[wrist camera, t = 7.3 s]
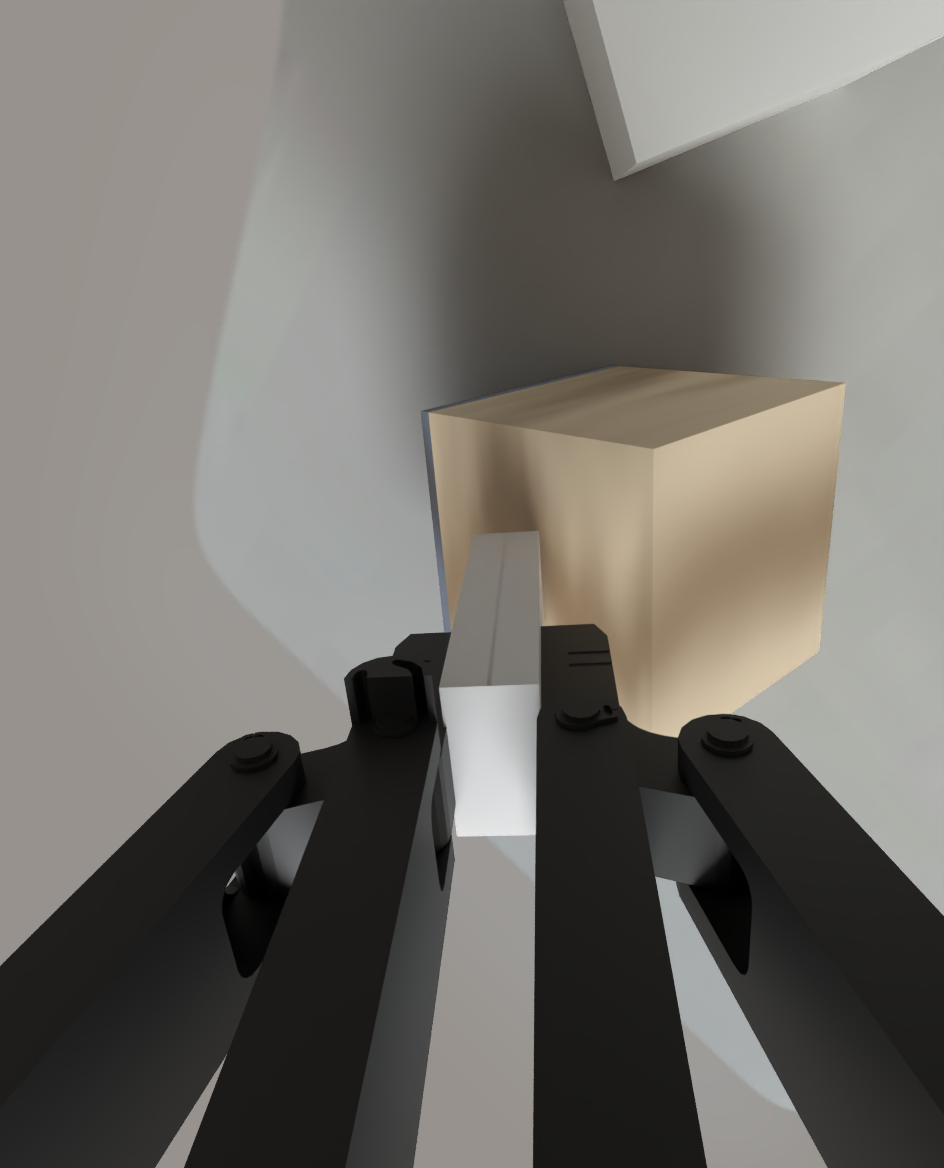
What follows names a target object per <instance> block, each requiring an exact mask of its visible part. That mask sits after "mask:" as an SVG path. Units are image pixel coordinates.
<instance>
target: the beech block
mask: <svg viewBox="0 0 944 1168" xmlns="http://www.w3.org/2000/svg"><path fill="white" fill-rule="evenodd" d="M845 387H846V383H841V382H828V381H814V380H801V379H787V378H774V377H760V376H746V375H733V374H719V373H706V372H692V371H679V370H665V369H652V368H638V367H625V366H607V367H603V368H599V369H595V370H591V371H586V372H582V373H578V374H574V375H570V376H566V377H561V378H557V379H553V380H549V381H545V382H541V383H536V384H532V385H528V386H524V387H520V388H515V389H511V390H507V391H503V392H499V393H495V394H490V395H486V396H482V397H478V398H474V399H470V400H465V401H461V402H457V403H453V404H449V405H445V406H440V407H436V408H432V409H428V410H424V411H421V417H422V426H423V436H424V445H425V454H426V464H427V473H428V483H429V492H430V501H431V511H432V520H433V529H434V539H435V548H436V557H437V567H438V576H439V585H440V595H441V604H442V613H443V623H444V632H451V631H452V627H453V622H454V618H455V613H456V609H457V604H458V600H459V595H460V591H461V586H462V582H463V577H464V573H465V568H466V564H467V559H468V555H469V550H470V546H471V541H472V537H473V535H474V534H492V533H509V532H526V531H539V543H540V559H541V576H542V592H543V609H544V625H545V626H556V625H577V624H595V625H596V626H597V627H598V628H599V629H600V630H602V631H603V632H604V633H605V634H606V635H607V636H608V642H609V647H610V653H611V659H612V665H613V671H614V677H615V682H616V688H617V694H618V700H619V705H620V706H621V707H622V709H623V711H624V712H625V714H626V716H627V720H628V721H629V722H631V723H632V724H634V725H635V726H637V727H638V728H641V729H643V730H646V731H648V732H651V733H656V734H660V735H664V736H670V737H677V738H678V736H679V733H680V730H681V728H682V727H683V726H684V725H685V724H687V723H688V722H689V721H691V720H692V719H695V718H699V717H702V716H705V715H714V714H731V713H732V712H734V711H735V710H737V709H738V708H740V707H741V706H742V705H744V704H745V703H747V702H748V701H750V700H751V699H752V698H754V697H755V696H757V695H758V694H759V693H761V692H762V691H764V690H765V689H767V688H768V687H769V686H771V685H772V684H774V683H775V682H777V681H778V680H779V679H781V678H782V677H784V676H785V675H787V674H788V673H789V672H791V671H792V670H794V669H795V668H797V667H798V666H799V665H801V664H802V663H804V662H805V661H806V660H808V659H809V658H811V657H812V656H814V655H815V654H816V653H818V652H819V647H820V637H821V627H822V617H823V607H824V597H825V587H826V577H827V567H828V557H829V547H830V537H831V527H832V517H833V507H834V497H835V487H836V477H837V467H838V457H839V447H840V437H841V427H842V417H843V407H844V397H845Z"/></svg>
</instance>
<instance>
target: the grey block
mask: <svg viewBox="0 0 944 1168" xmlns="http://www.w3.org/2000/svg"><path fill="white" fill-rule="evenodd" d="M563 2H564V6H565V9H566V13H567V16H568V20H569V23H570V27H571V31H572V34H573V38H574V41H575V45H576V48H577V52H578V55H579V59H580V62H581V66H582V70H583V73H584V77H585V80H586V84H587V87H588V91H589V94H590V98H591V101H592V105H593V109H594V112H595V116H596V119H597V123H598V126H599V130H600V133H601V137H602V140H603V144H604V148H605V151H606V155H607V158H608V162H609V165H610V169H611V172H612V176H613V179H614V181H616V180H619V179H621V178H624V177H626V176H628V175H631V174H633V173H636V172H638V171H640V170H643V169H645V168H648V167H650V166H653V165H655V164H657V163H660V162H662V161H665V160H667V159H669V158H672V157H674V156H677V155H679V154H681V153H684V152H686V151H689V150H691V149H693V148H696V147H698V146H701V145H703V144H706V143H708V142H710V141H713V140H715V139H718V138H720V137H722V136H725V135H727V134H730V133H732V132H734V131H737V130H739V129H742V128H744V127H747V126H749V125H751V124H754V123H756V122H759V121H761V120H763V119H766V118H768V117H771V116H773V115H775V114H778V113H780V112H783V111H785V110H787V109H790V108H792V107H795V106H797V105H800V104H802V103H804V102H807V101H809V100H812V99H814V98H816V97H819V96H821V95H824V94H826V93H828V92H831V91H833V90H836V89H838V88H840V87H843V86H845V85H847V84H849V83H851V82H853V81H855V80H857V79H859V78H861V77H863V76H865V75H867V74H869V73H871V72H873V71H875V70H877V69H879V68H881V67H883V66H885V65H887V64H889V63H891V62H893V61H895V60H897V59H899V58H901V57H903V56H905V55H907V54H909V53H911V52H913V51H915V50H917V49H919V48H921V47H923V46H925V45H927V44H929V43H931V42H933V41H935V40H937V39H939V38H941V37H943V36H944V0H563Z"/></svg>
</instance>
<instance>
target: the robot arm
mask: <svg viewBox="0 0 944 1168" xmlns="http://www.w3.org/2000/svg"><path fill="white" fill-rule="evenodd" d="M344 681H345V687H346V693H347V699H348V704H349V710H350V716H351V722H352V728H351V730H350V733H349V736H348V738H347V741H345V742H342V743H340V744H338V745H335V746H331V747H328V748H324V749H320V750H315V751H311V752H307V753H302V754H301V752H300V747H299V743H298V741H296V740H295V739H294V738H293V737H292V736H291V735H288V734H284V733H280V732H257V733H255V734H249V735H245V736H243V737H241V738H239V739H236V740H234V741H232V742H229V743H228V744H227V745H225V746H224V747H223V748H221V749H220V750H219V751H217V752H216V753H215V754H214V755H213V756H212V757H211V758H210V759H209V760H208V761H207V762H206V763H205V764H204V765H203V766H202V767H201V768H200V769H199V770H198V771H197V772H196V773H195V774H194V775H193V776H192V777H191V778H190V779H189V780H188V781H187V782H186V783H185V784H184V785H183V786H182V787H181V788H180V789H179V790H178V791H177V792H176V793H175V794H174V795H172V796H171V798H170V799H168V800H167V802H165V804H163V805H162V806H161V807H160V808H159V809H158V810H157V811H156V812H155V813H154V814H153V815H152V816H151V817H150V818H149V819H148V820H147V821H146V822H145V823H144V824H143V825H142V826H141V827H140V828H139V829H138V830H137V831H136V832H135V833H134V834H133V835H132V836H131V837H130V838H129V839H128V840H127V841H126V842H125V843H124V844H123V845H122V846H121V847H120V848H119V849H118V850H117V851H116V852H115V853H114V854H113V855H112V856H111V857H110V858H109V859H108V860H107V861H106V862H105V863H104V864H103V865H102V866H101V867H100V868H99V869H98V870H97V871H96V872H95V873H94V874H93V875H92V876H91V877H90V878H89V879H88V880H87V881H86V882H85V883H84V884H83V885H82V886H81V887H80V888H79V889H78V890H76V891H75V893H73V894H72V896H71V897H69V898H68V899H67V900H66V901H65V902H64V903H63V904H62V905H61V906H60V907H59V908H58V909H57V910H56V911H55V912H54V913H53V914H52V915H51V916H50V917H49V918H48V919H47V920H46V921H45V922H44V923H43V924H42V925H41V926H40V927H39V928H38V929H37V930H36V931H35V932H34V933H33V934H32V935H31V936H30V937H29V938H28V939H27V940H26V941H25V942H24V943H23V944H22V945H21V946H20V947H19V948H18V949H17V950H16V951H15V952H14V953H13V954H12V955H11V956H10V957H9V958H8V959H7V960H6V961H5V962H4V963H3V964H2V965H1V966H0V1168H155V1167H156V1165H157V1164H158V1162H159V1161H160V1159H161V1157H162V1156H163V1154H164V1153H165V1151H166V1149H167V1148H168V1146H169V1145H170V1143H171V1142H172V1140H173V1138H174V1137H175V1135H176V1134H177V1132H178V1131H179V1129H180V1127H181V1126H182V1124H183V1123H184V1121H185V1119H186V1118H187V1116H188V1115H189V1113H190V1112H191V1110H192V1109H193V1107H194V1105H195V1104H196V1102H197V1101H198V1099H199V1097H200V1096H201V1094H202V1093H203V1091H204V1090H205V1088H206V1086H207V1085H208V1083H209V1082H210V1080H211V1079H212V1077H213V1075H214V1073H215V1072H216V1071H217V1069H218V1068H219V1066H220V1064H221V1063H222V1061H223V1060H224V1058H225V1056H226V1055H227V1056H226V1059H225V1061H224V1064H223V1067H222V1069H221V1072H220V1075H219V1077H218V1080H217V1082H216V1085H215V1088H214V1090H213V1093H212V1096H211V1098H210V1101H209V1104H208V1106H207V1109H206V1112H205V1114H204V1117H203V1119H202V1122H201V1125H200V1127H199V1130H198V1132H197V1135H196V1138H195V1140H194V1143H193V1146H192V1148H191V1151H190V1154H189V1156H188V1159H187V1161H186V1164H185V1167H184V1168H413V1165H414V1157H415V1150H416V1143H417V1135H418V1128H419V1120H420V1113H421V1106H422V1105H421V1104H422V1098H423V1091H424V1083H425V1076H426V1069H427V1061H428V1054H429V1046H430V1038H431V1030H432V1024H433V1017H434V1009H435V1001H436V994H437V986H438V980H439V972H440V965H441V957H442V950H443V942H444V934H445V928H446V920H447V913H448V905H449V898H450V890H451V882H452V876H453V868H454V861H455V858H454V850H453V843H452V835H451V833H452V826H453V820H454V816H455V824H456V832H457V836H514V835H536V863H535V989H534V990H535V992H534V1112H533V1120H534V1121H533V1123H534V1124H533V1125H534V1126H533V1168H707V1165H706V1159H705V1154H704V1148H703V1142H702V1136H701V1131H700V1125H699V1120H698V1114H697V1108H696V1103H695V1097H694V1092H693V1086H692V1080H691V1075H690V1069H689V1064H688V1058H687V1052H686V1047H685V1042H684V1037H683V1030H682V1024H681V1019H680V1013H679V1008H678V1002H677V996H676V991H675V985H674V980H673V974H672V968H671V963H670V957H669V952H668V946H667V940H666V935H665V929H664V924H663V918H662V912H661V907H660V901H659V896H658V890H657V884H656V879H655V876H656V877H660V878H664V879H669V880H673V881H676V884H677V888H678V892H679V896H680V898H681V899H682V901H683V903H684V905H685V907H686V909H687V910H688V912H689V914H690V916H691V918H692V920H693V921H694V923H695V925H696V927H697V929H698V931H699V932H700V934H701V936H702V938H703V940H704V942H705V943H706V945H707V947H708V949H709V951H710V953H711V954H712V956H713V958H714V960H715V962H716V964H717V965H718V967H719V969H720V971H721V973H722V975H723V976H724V978H725V980H726V982H727V984H728V986H729V987H730V989H731V991H732V993H733V995H734V997H735V998H736V1000H737V1002H738V1004H739V1006H740V1008H741V1009H742V1011H743V1013H744V1015H745V1017H746V1019H747V1020H748V1022H749V1024H750V1026H751V1028H752V1030H753V1031H754V1033H755V1035H756V1037H757V1039H758V1041H759V1042H760V1044H761V1046H762V1048H763V1050H764V1052H765V1053H766V1055H767V1057H768V1059H769V1061H770V1063H771V1064H772V1066H773V1068H774V1070H775V1072H776V1074H777V1076H778V1077H779V1079H780V1081H781V1083H782V1085H783V1087H784V1088H785V1090H786V1092H787V1094H788V1096H789V1098H790V1099H791V1101H792V1103H793V1105H794V1107H795V1109H796V1110H797V1112H798V1114H799V1116H800V1118H801V1120H802V1121H803V1123H804V1125H805V1127H806V1129H807V1131H808V1132H809V1134H810V1136H811V1138H812V1139H813V1141H814V1143H815V1145H816V1147H817V1149H818V1151H819V1153H820V1154H821V1156H822V1158H823V1160H824V1161H825V1164H826V1165H827V1167H828V1168H944V916H943V915H942V914H941V913H940V912H939V911H938V909H937V908H936V907H935V906H934V905H933V904H932V903H931V902H930V901H929V900H928V899H927V898H926V897H925V895H924V894H923V893H922V892H921V891H920V890H919V889H918V888H917V887H916V886H915V885H914V884H913V883H912V881H911V880H910V879H909V878H908V877H907V876H906V875H905V874H904V873H903V872H902V871H901V870H900V869H899V867H898V866H897V865H896V864H895V863H894V862H893V861H892V860H891V859H890V858H889V857H888V856H887V855H886V853H885V852H884V851H883V850H882V849H881V848H880V847H879V846H878V845H877V844H876V843H875V842H874V841H873V839H872V838H871V837H870V836H869V835H868V834H867V833H866V832H865V831H864V830H863V829H862V828H861V827H860V825H859V824H858V823H857V822H856V821H855V820H854V819H853V818H852V817H851V816H850V815H849V814H848V813H847V811H846V810H845V809H844V808H843V807H842V806H841V805H840V804H839V803H838V802H837V801H836V800H835V799H834V797H833V796H832V795H831V794H830V793H829V792H828V791H827V790H826V789H825V788H824V787H823V786H822V785H821V783H820V782H819V781H818V780H817V779H816V778H815V777H814V776H813V775H812V774H811V773H810V772H809V771H808V769H807V768H806V767H805V766H804V765H803V764H802V763H801V762H800V761H799V760H798V759H797V758H796V757H795V755H794V754H793V753H792V752H791V751H790V750H789V749H788V748H787V747H786V746H785V745H784V744H783V743H782V741H781V740H780V739H779V738H778V737H777V736H776V735H775V734H774V733H773V732H772V731H771V730H769V729H768V728H767V727H765V726H764V725H763V724H761V723H759V722H757V721H754V720H751V719H749V718H746V717H743V716H738V715H731V714H714V715H705V716H702V717H699V718H695V719H692V720H691V721H689V722H688V723H687V724H685V725H684V726H683V727H682V728H681V730H680V733H679V736H678V738H677V737H670V736H664V735H660V734H656V733H651V732H648V731H646V730H643V729H641V728H638V727H637V726H635V725H634V724H632V723H631V722H629V721H628V720H627V716H626V714H625V712H624V711H623V709H622V707H621V706H620V705H619V700H618V694H617V688H616V682H615V677H614V671H613V665H612V659H611V653H610V647H609V642H608V636H607V635H606V634H605V633H604V632H603V631H602V630H600V629H599V628H598V627H597V626H596V625H595V624H577V625H556V626H545V625H544V609H543V592H542V576H541V559H540V543H539V531H526V532H509V533H492V534H474V535H473V537H472V541H471V546H470V550H469V555H468V559H467V564H466V568H465V573H464V577H463V582H462V586H461V591H460V595H459V600H458V604H457V609H456V613H455V618H454V622H453V627H452V631H451V632H445V633H423V634H410V635H409V636H408V637H407V638H406V639H405V640H403V641H402V642H401V643H400V644H399V645H398V646H397V647H396V648H395V651H394V654H393V656H388V657H381V658H376V659H373V660H370V661H367V662H364V663H362V664H360V665H359V666H357V667H355V668H354V669H352V670H351V671H350V672H349V673H348V674H347V676H346V677H345V678H344ZM234 872H235V873H236V876H235V878H234V879H233V880H232V882H231V883H230V884H229V885H228V886H227V884H228V882H229V880H230V878H231V877H232V875H233V873H234ZM226 886H227V887H226Z"/></svg>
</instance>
